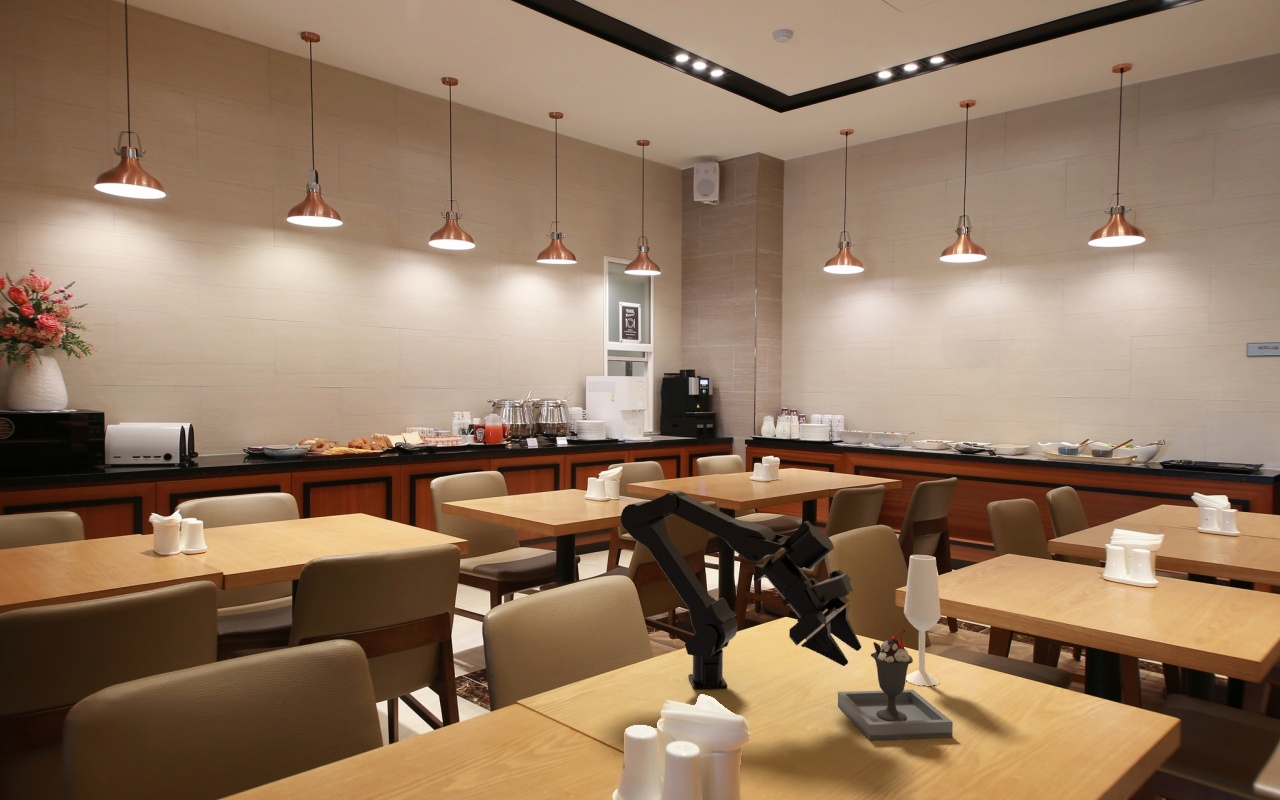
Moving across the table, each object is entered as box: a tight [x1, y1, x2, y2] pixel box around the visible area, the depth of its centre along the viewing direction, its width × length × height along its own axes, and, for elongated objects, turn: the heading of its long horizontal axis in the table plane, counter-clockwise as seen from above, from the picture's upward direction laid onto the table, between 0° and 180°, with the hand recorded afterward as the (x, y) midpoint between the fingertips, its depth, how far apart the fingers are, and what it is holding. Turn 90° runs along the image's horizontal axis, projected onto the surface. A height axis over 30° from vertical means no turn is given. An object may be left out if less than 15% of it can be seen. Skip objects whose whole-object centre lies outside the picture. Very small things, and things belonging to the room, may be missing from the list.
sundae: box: [870, 628, 914, 721], centre depth 132 cm, size 7×7×15 cm
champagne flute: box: [903, 554, 942, 686], centre depth 151 cm, size 7×7×24 cm
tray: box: [837, 689, 954, 741], centre depth 132 cm, size 14×14×2 cm
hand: (853, 656), depth 135 cm, fingers open, 9 cm apart
